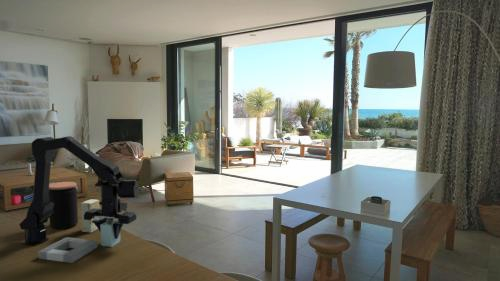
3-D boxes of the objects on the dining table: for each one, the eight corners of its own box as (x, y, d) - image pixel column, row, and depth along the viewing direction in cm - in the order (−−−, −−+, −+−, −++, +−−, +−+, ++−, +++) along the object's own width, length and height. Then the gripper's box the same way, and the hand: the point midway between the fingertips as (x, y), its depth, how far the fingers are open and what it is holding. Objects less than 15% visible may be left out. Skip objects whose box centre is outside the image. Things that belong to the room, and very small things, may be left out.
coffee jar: (56, 221, 153) (54, 181, 151) (81, 221, 155) (80, 181, 153) (45, 230, 143) (42, 187, 141) (72, 230, 144) (70, 187, 142)
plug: (101, 245, 129) (100, 220, 128) (110, 239, 135) (109, 216, 134) (111, 246, 128) (111, 221, 127) (120, 241, 134) (119, 217, 133)
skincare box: (91, 233, 141) (90, 203, 140) (81, 232, 142) (80, 202, 141) (100, 227, 147) (100, 199, 146) (91, 226, 148) (90, 198, 147)
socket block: (38, 258, 118) (38, 251, 118) (66, 243, 130) (66, 237, 130) (71, 263, 115) (71, 255, 115) (97, 247, 128) (97, 240, 127)
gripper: (143, 194, 135) (144, 232, 137) (101, 190, 139) (102, 228, 141) (127, 201, 124) (128, 243, 126) (82, 197, 129) (83, 238, 130)
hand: (110, 238), depth 131 cm, fingers open, 5 cm apart
